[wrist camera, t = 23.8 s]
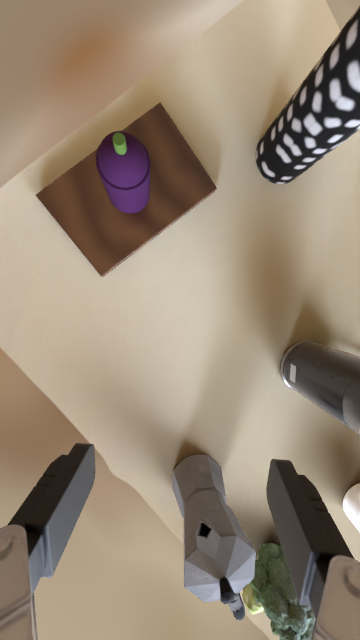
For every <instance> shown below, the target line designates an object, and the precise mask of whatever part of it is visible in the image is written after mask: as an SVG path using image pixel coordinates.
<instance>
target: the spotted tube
mask: <svg viewBox="0 0 360 640" xmlns="http://www.w3.org/2000/svg"><path fill="white" fill-rule="evenodd" d="M359 129H360V6H359V7H358V9H357V10H356V11H355V13H354V14H353V16H352V17H351V18H350V20H349V21H348V22H347V24H346V25H345V26H344V28H343V29H342V30H341V32H340V33H339V34H338V36H337V37H336V38H335V40H334V41H333V42H332V44H331V45H330V46H329V48H328V49H327V51H326V52H325V53H324V55H323V56H322V57H321V59H320V60H319V61H318V63H317V64H316V65H315V67H314V68H313V69H312V71H311V72H310V73H309V75H308V76H307V77H306V79H305V80H304V82H303V83H302V84H301V86H300V87H299V88H298V90H297V91H296V92H295V94H294V95H293V96H292V98H291V99H290V100H289V102H288V103H287V104H286V106H285V107H284V108H283V110H282V111H281V112H280V114H279V115H278V117H277V118H276V119H275V121H274V122H273V123H272V125H271V126H270V127H269V129H268V130H267V131H266V133H265V134H264V135H263V137H262V138H261V139H260V141H259V143H258V146H257V149H256V163H257V166H258V169H259V171H260V172H261V174H262V175H263V176H264V177H265V178H266V179H267V180H269V181H270V182H273V183H275V184H285V183H289V182H291V181H292V180H294V179H295V178H297V177H298V176H299V175H300V174H302V173H303V172H304V171H306V170H307V169H308V168H310V167H311V166H312V165H314V164H315V163H316V162H317V161H319V160H320V159H321V158H323V157H324V156H325V155H327V154H328V153H329V152H331V151H332V150H333V149H335V148H336V147H337V146H338V145H340V144H341V143H342V142H344V141H345V140H346V139H348V138H349V137H350V136H352V135H353V134H354V133H356V132H357V131H358V130H359Z"/></svg>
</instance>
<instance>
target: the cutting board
mask: <svg viewBox="0 0 360 640" xmlns="http://www.w3.org/2000/svg"><path fill="white" fill-rule="evenodd" d="M122 131H123V132H127V133H130V134H131V135H133V136H135V137H136V138H137V139H138V140H139V141H140V142H141V143H142V144H143V145H144V146H145V148H146V149H147V151H148V154H149V157H150V198H149V201H148V203H147V205H146V206H145V207H144V208H143V209H142V210H141V211H139V212H136V213H125V212H122V211H120V210H118V209H117V208H116V207H115V206H114V205H113V204H112V202H111V200H110V198H109V196H108V193H107V191H106V189H105V186H104V184H103V182H102V179H101V177H100V175H99V172H98V170H97V166H96V153H97V150H98V149H97V150H96V151H94V152H93V153H92V154H90V155H89V156H87V157H86V158H85V159H83V160H82V161H81V162H79V163H78V164H77V165H75V166H74V167H73V168H71V169H70V170H69V171H67V172H66V173H65V174H63V175H62V176H61V177H59V178H58V179H57V180H55V181H54V182H53V183H51V184H50V185H48V186H47V187H46V188H44V189H43V190H42V191H40V192H39V193H38V194H36V196H37V197H38V199H39V200H40V201H41V202H42V204H43V205H44V206H45V207H46V208H47V210H48V211H49V212H50V213H51V215H52V216H53V217H54V218H55V220H56V221H57V222H58V223H59V225H60V226H61V227H62V228H63V230H64V231H65V232H66V233H67V234H68V236H69V237H70V238H71V239H72V241H73V242H74V243H75V244H76V246H77V247H78V248H79V249H80V251H81V252H82V253H83V254H84V256H85V257H86V258H87V259H88V260H89V262H90V263H91V264H92V265H93V267H94V268H95V269H96V270H97V272H98V273H99V274H100V275H101V276H102V277H103V276H105V275H106V274H107V273H109V272H110V271H111V270H113V269H114V268H115V267H116V266H118V265H119V264H120V263H122V262H123V261H124V260H126V259H127V258H128V257H130V256H131V255H132V254H134V253H135V252H136V251H137V250H139V249H140V248H141V247H143V246H144V245H145V244H147V243H148V242H149V241H151V240H152V239H153V238H155V237H156V236H157V235H158V234H160V233H161V232H162V231H164V230H165V229H166V228H168V227H169V226H170V225H172V224H173V223H174V222H176V221H177V220H178V219H179V218H181V217H182V216H183V215H185V214H186V213H187V212H189V211H190V210H191V209H193V208H194V207H195V206H196V205H198V204H199V203H200V202H202V201H203V200H204V199H206V198H207V197H208V196H210V195H211V194H212V193H214V192H215V190H216V189H217V188H216V186H215V185H214V183H213V182H212V180H211V179H210V177H209V176H208V174H207V173H206V171H205V170H204V168H203V166H202V165H201V163H200V162H199V160H198V159H197V157H196V156H195V154H194V153H193V151H192V150H191V148H190V147H189V145H188V144H187V142H186V141H185V139H184V138H183V136H182V135H181V133H180V132H179V130H178V129H177V127H176V126H175V124H174V123H173V121H172V119H171V118H170V116H169V115H168V113H167V112H166V110H165V109H164V107H163V106H162V104H161V103H159V104H157V105H156V106H155V107H153V108H152V109H151V110H149V111H148V112H147V113H145V114H144V115H143V116H141V117H140V118H139V119H137V120H136V121H135V122H133V123H132V124H130V125H129V126H128V127H126V128H125V129H124V130H122Z"/></svg>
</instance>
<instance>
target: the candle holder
mask: <svg viewBox="0 0 360 640" xmlns="http://www.w3.org/2000/svg"><path fill="white" fill-rule="evenodd" d="M343 509H344V512H345V514H346V515H347V516H348V518H349V519H350V520H351V522H352V523H353V524H354V525H355V527H356V528H357V529H358V531H359V532H360V483H358V484H356V485H354V486H352V487H351V488H350V489H349V490H348V491H347V493H346V494H345V496H344V499H343Z"/></svg>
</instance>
